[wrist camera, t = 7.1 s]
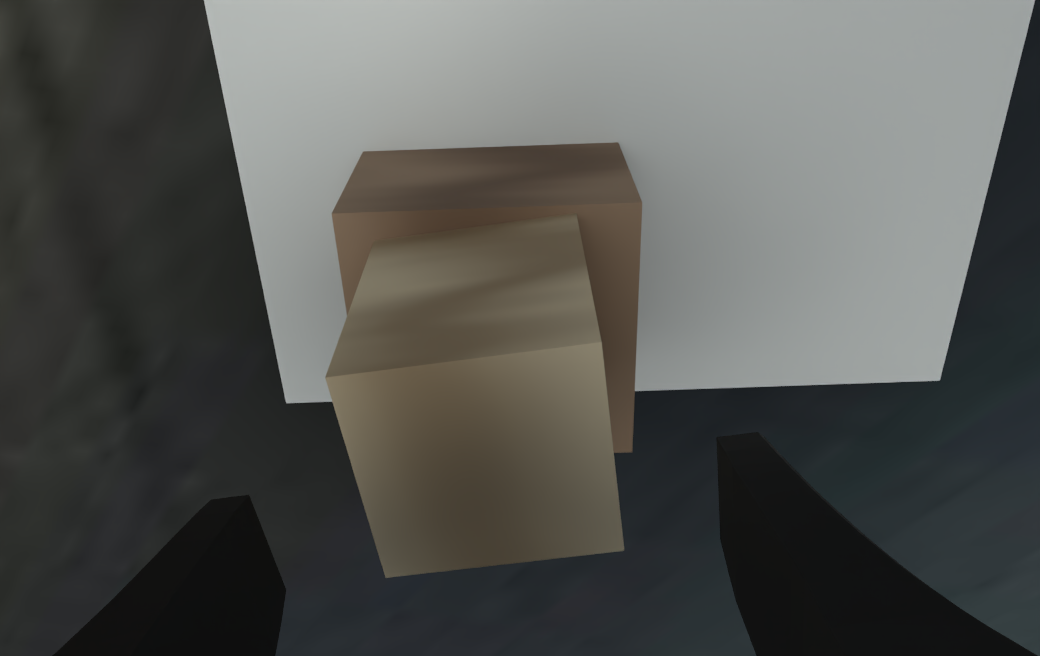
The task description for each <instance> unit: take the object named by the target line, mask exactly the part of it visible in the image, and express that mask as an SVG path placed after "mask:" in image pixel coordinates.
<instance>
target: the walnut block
mask: <svg viewBox="0 0 1040 656" xmlns="http://www.w3.org/2000/svg"><path fill="white" fill-rule="evenodd" d="M574 213H576V214H577V219H578V224H579V229H580V234H581V240H582V245H583V250H584V255H585V260H586V265H587V270H588V275H589V280H590V285H591V290H592V296H593V301H594V306H595V311H596V316H597V321H598V326H599V331H600V336H601V341H602V350H603V359H604V368H605V378H606V387H607V396H608V405H609V414H610V424H611V433H612V442H613V451H614V453H623V452H632V445H633V421H634V396H635V371H636V347H637V322H638V298H639V273H640V248H641V224H642V200H641V198H640V195H639V193H638V190H637V188H636V185H635V183H634V180H633V178H632V175H631V173H630V170H629V168H628V165H627V163H626V160H625V158H624V155H623V153H622V150H621V148H620V145H619V143H618V142H614V143H586V144H558V145H530V146H502V147H474V148H446V149H418V150H390V151H363V153H362V155H361V156H360V158H359V160H358V162H357V164H356V166H355V168H354V170H353V172H352V174H351V176H350V178H349V180H348V182H347V184H346V186H345V188H344V190H343V192H342V194H341V196H340V198H339V200H338V202H337V204H336V206H335V208H334V210H333V212H332V220H333V227H334V233H335V240H336V247H337V253H338V260H339V266H340V273H341V280H342V286H343V293H344V299H345V306H346V313H347V315H348V312H349V309H350V307H351V304H352V301H353V298H354V296H355V293H356V290H357V287H358V284H359V282H360V279H361V276H362V273H363V270H364V268H365V265H366V262H367V259H368V256H369V254H370V251H371V248H372V245H373V242H374V241H378V240H385V239H392V238H400V237H407V236H414V235H421V234H429V233H436V232H443V231H451V230H458V229H465V228H472V227H480V226H487V225H494V224H501V223H509V222H516V221H523V220H531V219H538V218H545V217H552V216H560V215H567V214H574Z"/></svg>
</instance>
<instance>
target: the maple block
mask: <svg viewBox="0 0 1040 656" xmlns="http://www.w3.org/2000/svg"><path fill="white" fill-rule="evenodd" d="M325 379H326V382H327V385H328V389H329V392H330V395H331V399H332V402H333V405H334V409H335V412H336V415H337V418H338V422H339V425H340V428H341V432H342V435H343V438H344V442H345V445H346V448H347V452H348V455H349V458H350V461H351V465H352V468H353V471H354V475H355V478H356V481H357V485H358V488H359V491H360V495H361V498H362V501H363V504H364V508H365V511H366V514H367V518H368V521H369V524H370V528H371V531H372V534H373V538H374V541H375V544H376V547H377V551H378V554H379V557H380V561H381V564H382V567H383V571H384V574H385V577H386V578H388V577H397V576H406V575H414V574H423V573H432V572H441V571H450V570H458V569H467V568H476V567H485V566H494V565H502V564H511V563H520V562H529V561H538V560H546V559H555V558H564V557H573V556H581V555H590V554H599V553H608V552H617V551H624V543H623V534H622V525H621V515H620V506H619V497H618V488H617V479H616V470H615V460H614V451H613V442H612V433H611V424H610V414H609V405H608V396H607V387H606V378H605V368H604V359H603V350H602V341H601V336H600V331H599V326H598V321H597V316H596V311H595V306H594V301H593V296H592V290H591V285H590V280H589V275H588V270H587V265H586V260H585V255H584V250H583V245H582V240H581V234H580V229H579V224H578V219H577V214H576V213H574V214H567V215H560V216H552V217H545V218H538V219H531V220H523V221H516V222H509V223H501V224H494V225H487V226H480V227H472V228H465V229H458V230H451V231H443V232H436V233H429V234H421V235H414V236H407V237H400V238H392V239H385V240H378V241H374V242H373V245H372V248H371V251H370V254H369V256H368V259H367V262H366V265H365V268H364V270H363V273H362V276H361V279H360V282H359V284H358V287H357V290H356V293H355V296H354V298H353V301H352V304H351V307H350V309H349V312H348V315H347V318H346V321H345V323H344V326H343V329H342V332H341V335H340V337H339V340H338V343H337V346H336V349H335V351H334V354H333V357H332V360H331V363H330V365H329V368H328V371H327V374H326V377H325Z"/></svg>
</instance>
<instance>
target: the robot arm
mask: <svg viewBox="0 0 1040 656" xmlns="http://www.w3.org/2000/svg"><path fill="white" fill-rule="evenodd" d="M717 459H718V486H719V512H720V539H721V544H722V548H723V552H724V556H725V560H726V564H727V568H728V572H729V576H730V580H731V583H732V587H733V591H734V595H735V599H736V602H737V605H738V608H739V610H740V613H741V616H742V618H743V621H744V624H745V626H746V629H747V632H748V634H749V637H750V639H751V642H752V645H753V647H754V650H755V653H756V655H757V656H1037V655H1035V654H1034V653H1032V652H1030V651H1029V650H1027V649H1025V648H1024V647H1022V646H1020V645H1019V644H1017V643H1015V642H1014V641H1012V640H1010V639H1008V638H1007V637H1005V636H1003V635H1002V634H1000V633H998V632H997V631H995V630H993V629H992V628H990V627H988V626H987V625H985V624H984V623H982V622H980V621H979V620H977V619H976V618H974V617H973V616H971V615H969V614H968V613H966V612H965V611H963V610H962V609H960V608H959V607H957V606H956V605H955V604H953V603H952V602H950V601H949V600H947V599H946V598H945V597H943V596H942V595H940V594H939V593H938V592H936V591H935V590H933V589H932V588H930V587H929V586H928V585H926V584H925V583H924V582H922V581H921V580H920V579H918V578H917V577H916V576H914V575H913V574H912V573H910V572H909V571H908V570H907V569H905V568H904V567H903V566H901V565H900V564H899V563H898V562H896V561H895V560H894V559H893V558H892V557H890V556H889V555H888V554H887V553H885V552H884V551H883V550H882V549H881V548H879V547H878V546H877V545H876V544H874V543H873V542H872V541H871V540H870V539H869V538H867V537H866V536H865V535H864V534H863V533H862V532H860V531H859V530H858V529H857V528H856V527H855V526H854V525H852V524H851V523H850V522H849V521H848V520H847V519H846V518H845V517H844V516H843V515H842V514H840V513H839V512H838V511H837V510H836V509H835V508H834V507H833V506H832V505H831V504H830V503H828V502H827V501H826V500H825V499H824V498H823V497H822V496H821V495H820V494H819V493H818V492H817V491H816V490H815V489H814V488H813V487H812V486H811V485H810V484H809V483H808V482H807V481H806V480H805V479H804V478H803V477H802V476H801V475H800V474H799V473H798V472H797V471H796V470H795V469H794V468H793V467H792V466H791V465H790V464H789V463H788V462H787V461H786V460H785V459H784V458H783V457H782V456H781V455H780V453H779V452H778V451H777V450H776V449H775V448H774V447H773V446H772V445H771V444H770V443H769V442H768V440H767V439H766V438H765V437H763V436H762V435H761V434H759V433H758V432H756V433H748V434H740V435H731V436H723V437H717ZM285 594H286V588H285V586H284V583H283V581H282V578H281V576H280V573H279V571H278V568H277V565H276V563H275V560H274V558H273V555H272V553H271V550H270V548H269V545H268V542H267V540H266V537H265V535H264V532H263V530H262V527H261V524H260V522H259V519H258V517H257V514H256V512H255V509H254V507H253V504H252V501H251V499H250V496H249V495H245V496H237V497H229V498H221V499H213V500H210V501H209V502H208V503H207V504H206V505H205V506H204V507H203V508H202V509H201V510H200V511H199V512H198V513H196V514H195V515H194V516H193V517H192V518H191V520H190V521H189V522H188V523H187V524H186V525H185V526H184V527H183V528H182V529H181V530H180V531H179V532H178V533H177V534H176V535H175V536H174V537H173V538H172V539H171V540H170V541H169V542H168V543H167V544H166V545H165V546H164V547H163V548H162V549H161V550H160V552H159V553H158V554H157V555H156V556H155V557H154V558H153V559H152V560H151V561H150V562H149V563H148V564H147V565H146V566H145V567H144V568H143V569H142V570H141V571H140V572H139V573H138V574H137V575H136V576H135V577H134V578H133V579H132V580H131V581H130V582H129V583H128V584H127V585H126V586H125V587H124V588H123V589H122V590H121V591H120V592H119V593H118V594H117V595H116V596H115V597H114V598H113V599H112V600H111V601H110V602H109V603H108V604H107V605H106V606H105V607H104V608H103V609H102V610H101V611H100V612H99V613H98V614H97V615H96V616H94V617H93V618H92V619H91V620H90V621H89V622H88V623H87V624H86V625H85V626H84V627H83V628H82V629H81V630H80V631H79V632H78V633H76V634H75V635H74V636H73V637H72V638H71V639H70V640H69V641H68V642H67V643H66V644H65V645H64V646H63V647H62V648H61V649H60V650H58V651H57V652H56V653H55V654H54V655H53V656H275V653H276V648H277V643H278V638H279V632H280V627H281V620H282V614H283V607H284V601H285Z"/></svg>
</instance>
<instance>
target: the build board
mask: <svg viewBox="0 0 1040 656" xmlns="http://www.w3.org/2000/svg"><path fill="white" fill-rule="evenodd" d="M1034 2H1035V0H204V3H205V8H206V13H207V17H208V22H209V27H210V32H211V37H212V42H213V47H214V52H215V57H216V62H217V66H218V71H219V76H220V81H221V86H222V91H223V96H224V101H225V106H226V111H227V116H228V120H229V125H230V130H231V135H232V140H233V145H234V150H235V155H236V160H237V165H238V170H239V174H240V179H241V184H242V189H243V194H244V199H245V204H246V209H247V214H248V219H249V224H250V228H251V233H252V238H253V243H254V248H255V253H256V258H257V263H258V268H259V273H260V278H261V282H262V287H263V292H264V297H265V302H266V307H267V312H268V317H269V322H270V327H271V332H272V336H273V341H274V346H275V351H276V356H277V361H278V366H279V371H280V376H281V381H282V385H283V390H284V395H285V400H286V403H307V402H332V399H331V395H330V392H329V389H328V385H327V382H326V379H325V377H326V374H327V371H328V368H329V365H330V363H331V360H332V357H333V354H334V351H335V349H336V346H337V343H338V340H339V337H340V335H341V332H342V329H343V326H344V323H345V321H346V318H347V313H346V306H345V299H344V293H343V286H342V280H341V273H340V266H339V260H338V253H337V247H336V240H335V233H334V227H333V220H332V212H333V210H334V208H335V206H336V204H337V202H338V200H339V198H340V196H341V194H342V192H343V190H344V188H345V186H346V184H347V182H348V180H349V178H350V176H351V174H352V172H353V170H354V168H355V166H356V164H357V162H358V160H359V158H360V156H361V155H362V153H363V151H390V150H418V149H446V148H474V147H502V146H530V145H558V144H586V143H614V142H618V143H619V145H620V148H621V150H622V153H623V155H624V158H625V160H626V163H627V165H628V168H629V170H630V173H631V175H632V178H633V180H634V183H635V185H636V188H637V190H638V193H639V195H640V198H641V200H642V224H641V248H640V273H639V298H638V322H637V347H636V371H635V391H653V390H682V389H711V388H740V387H769V386H797V385H826V384H855V383H884V382H913V381H940V378H941V374H942V370H943V366H944V362H945V358H946V354H947V350H948V346H949V342H950V338H951V334H952V330H953V326H954V322H955V318H956V314H957V310H958V306H959V302H960V298H961V294H962V290H963V286H964V282H965V278H966V274H967V270H968V266H969V262H970V258H971V254H972V250H973V246H974V242H975V238H976V234H977V230H978V226H979V222H980V218H981V214H982V210H983V206H984V202H985V198H986V194H987V190H988V186H989V182H990V178H991V174H992V170H993V166H994V162H995V158H996V154H997V150H998V146H999V142H1000V138H1001V134H1002V130H1003V126H1004V122H1005V118H1006V114H1007V110H1008V106H1009V102H1010V98H1011V94H1012V90H1013V86H1014V82H1015V78H1016V74H1017V70H1018V66H1019V62H1020V58H1021V54H1022V50H1023V46H1024V42H1025V38H1026V34H1027V30H1028V26H1029V22H1030V18H1031V14H1032V10H1033V6H1034Z"/></svg>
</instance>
